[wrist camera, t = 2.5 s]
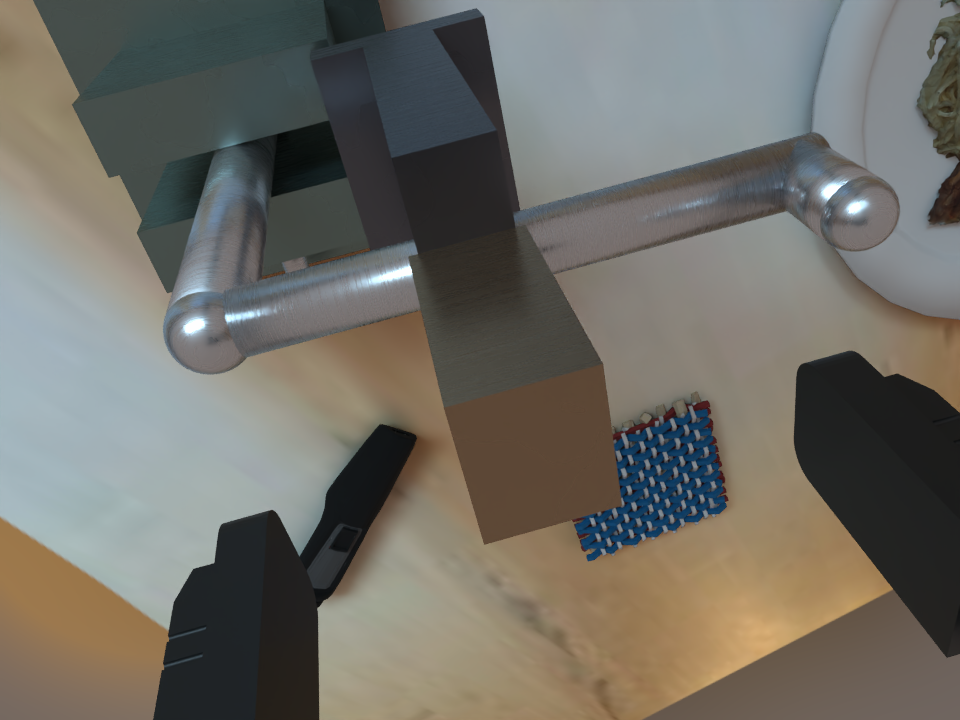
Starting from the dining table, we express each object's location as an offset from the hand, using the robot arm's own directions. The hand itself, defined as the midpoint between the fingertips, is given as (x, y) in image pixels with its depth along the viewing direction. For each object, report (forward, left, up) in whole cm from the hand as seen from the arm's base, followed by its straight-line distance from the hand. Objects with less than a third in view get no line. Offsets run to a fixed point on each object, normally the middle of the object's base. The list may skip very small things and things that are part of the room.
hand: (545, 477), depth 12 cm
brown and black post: (0, 0, -16) cm, 16 cm away
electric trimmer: (+25, -10, -28) cm, 39 cm away
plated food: (+8, +34, -28) cm, 45 cm away
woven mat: (+29, +9, -28) cm, 41 cm away
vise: (+1, -2, -28) cm, 28 cm away
